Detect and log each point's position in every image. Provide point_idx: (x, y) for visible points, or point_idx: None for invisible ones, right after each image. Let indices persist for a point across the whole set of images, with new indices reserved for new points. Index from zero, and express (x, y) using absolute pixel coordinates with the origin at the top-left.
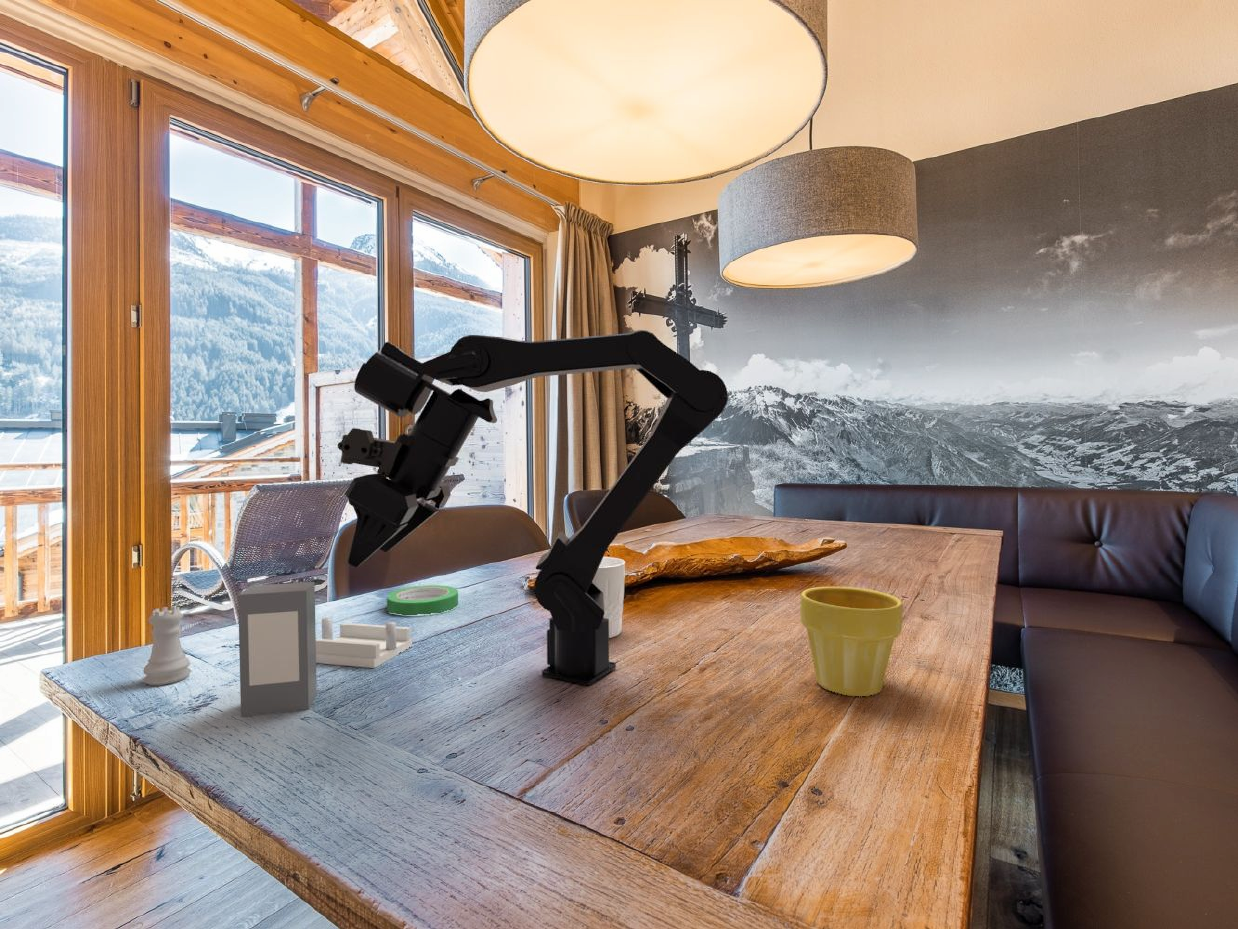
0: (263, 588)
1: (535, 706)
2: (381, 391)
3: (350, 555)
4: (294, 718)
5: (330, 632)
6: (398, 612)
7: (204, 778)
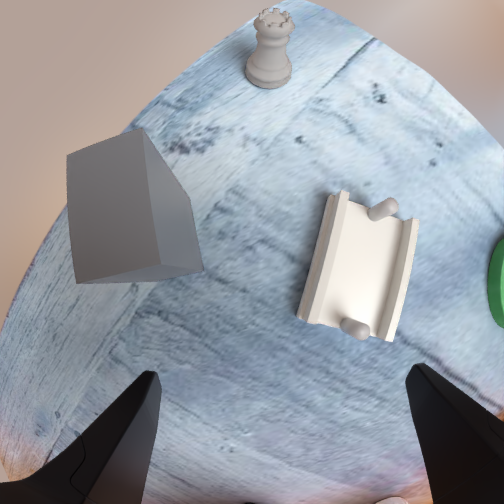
0: (107, 171)
1: (170, 495)
2: None
3: (129, 388)
4: None
5: (379, 216)
6: (493, 262)
7: (42, 249)
